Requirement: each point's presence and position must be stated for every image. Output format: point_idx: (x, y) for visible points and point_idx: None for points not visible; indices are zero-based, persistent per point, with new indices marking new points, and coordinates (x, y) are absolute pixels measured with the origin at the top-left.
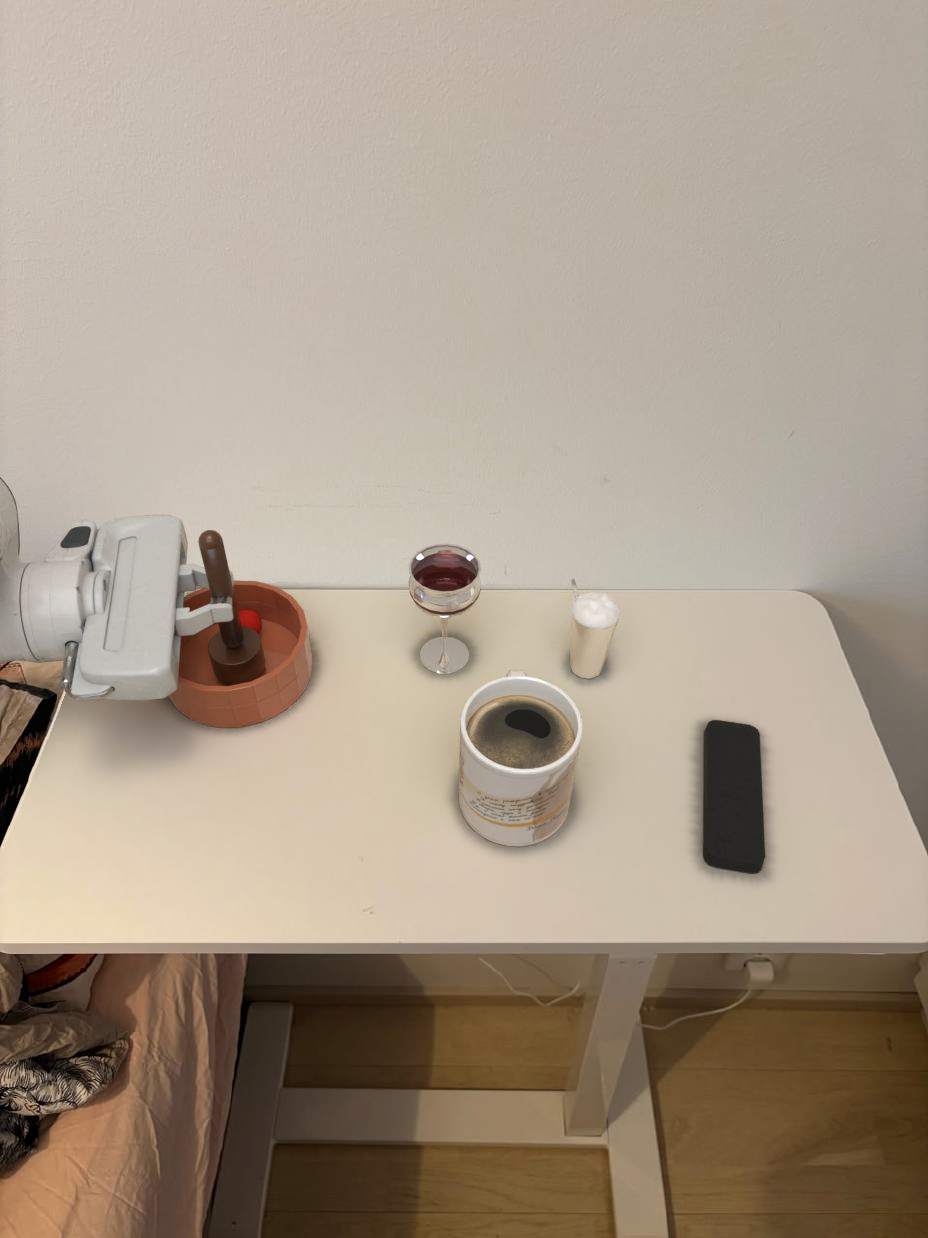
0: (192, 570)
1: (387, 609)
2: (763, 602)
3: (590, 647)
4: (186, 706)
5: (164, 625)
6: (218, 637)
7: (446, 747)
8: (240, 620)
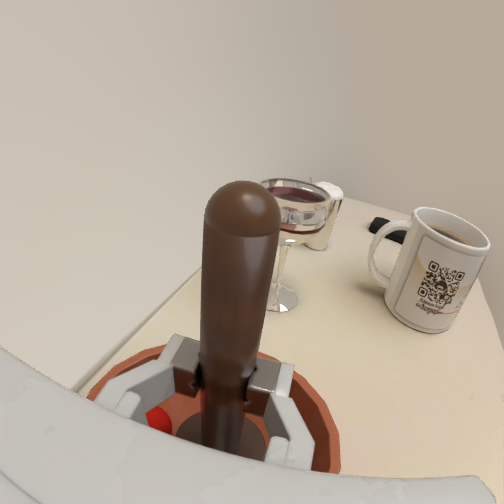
0: (127, 391)
1: (194, 309)
2: None
3: (335, 217)
4: None
5: (362, 491)
6: None
7: (375, 326)
8: (153, 424)
